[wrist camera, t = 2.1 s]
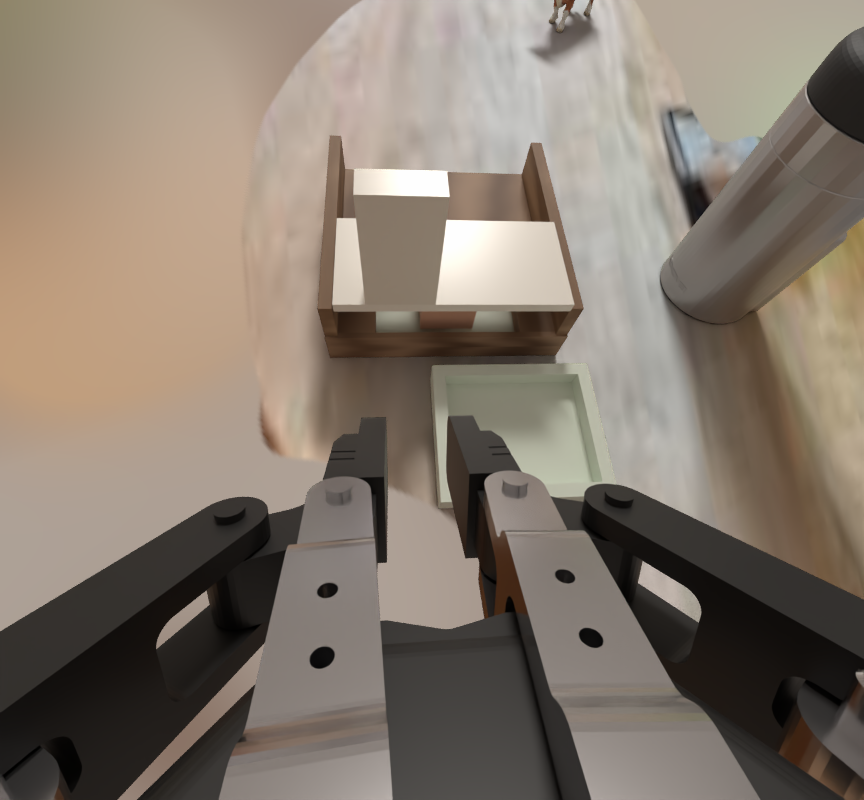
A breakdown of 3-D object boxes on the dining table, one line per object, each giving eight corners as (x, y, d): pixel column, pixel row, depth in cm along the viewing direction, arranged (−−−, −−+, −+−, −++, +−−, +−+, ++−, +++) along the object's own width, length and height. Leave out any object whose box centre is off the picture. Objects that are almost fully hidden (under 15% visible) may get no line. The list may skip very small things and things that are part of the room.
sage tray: (576, 376, 37) (587, 363, 35) (605, 501, 33) (619, 494, 31) (430, 378, 36) (432, 365, 34) (438, 508, 32) (440, 502, 30)
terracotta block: (467, 287, 39) (475, 250, 35) (471, 328, 37) (481, 294, 33) (418, 287, 38) (420, 250, 34) (420, 328, 36) (423, 294, 32)
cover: (551, 229, 36) (601, 107, 27) (570, 311, 32) (636, 201, 23) (338, 226, 34) (317, 94, 25) (333, 311, 30) (307, 193, 22)
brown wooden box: (522, 199, 47) (540, 141, 41) (555, 355, 38) (584, 310, 32) (338, 194, 45) (330, 134, 39) (330, 357, 36) (317, 310, 31)
